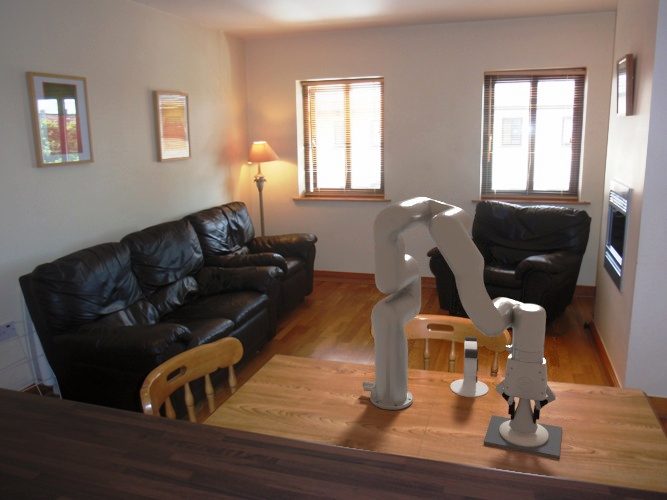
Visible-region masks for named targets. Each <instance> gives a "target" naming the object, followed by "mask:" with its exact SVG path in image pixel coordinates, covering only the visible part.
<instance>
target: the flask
mask: <svg viewBox="0 0 667 500" xmlns="http://www.w3.org/2000/svg"><path fill="white" fill-rule="evenodd" d="M518 399H519V400H518V403H517V406H516V407H515V412H514V418H513V420H511V421H510V423H509V426H510V427H511V429H512V430H513V431H516V432H520V433H524V434H526V433H536V431H537V428H538V426H537V423H538V422H536V424H534V423H533V412H534V410H533V408H532V402H531V400H529V399H523V398H518Z"/></svg>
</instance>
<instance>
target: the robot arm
mask: <svg viewBox="0 0 667 500" xmlns="http://www.w3.org/2000/svg"><path fill="white" fill-rule="evenodd" d="M472 224H473V222H472V219H471V216H470V214H469V213H468V212H467V211H466V210H464V209H463V208H461V207H458V206H455V205H453V204H448V203H445V202H441V201H439V200H435V199H432V198H429V197H424V196H415V197H411V198H408V199H404V200H400V201H398V202H394V203H391V204H389V205H388V206H386V207H384V208H382V209H381V210H380V211H379V212H378V214H377V215H376V217H375V219H374V222H373V228H372V229H373V234H372V235H373V243H374V250H373V251H374V252H373V253H374V256H373V257H374V281H375V282H374V283H375V286H376V288H377V290H379V292H381V293H382V294H384V295H387V296H386V297H384V298H382V299H380V300H379V301H378V302H376V304H375V305H374V306H373V307H372V311H371V315H370V319H371V326H372V330H373V337H374V339H373V340H374V379H375V380H374V381H373V382H370V381H367V380H363V381H362V388H363V391H364V392H370V394H369V395H370V396H369V399H370V402H371V404H372V405H373V406H375V407H377V408H380V409H383V410H389V411H390V410H391V411H393V410H394V411H395V410H396V411H397V410H402V409H405V408H408V407H409V406H411V405H412V403H413V402H414V396H413V393H412V392H410V391H409V389H408V387H409V385H408V382H409V381H408V380H409V379H408V377H409V371H408V369H409V366H408V365H409V363H408V362H409V360H408V359H409V351H408V347H409V344H408V343H409V342H408V337H407V333H406V331H405V325H407V324H409V323H410V322H411V321H413V320H414V319H415V318H417V316H418V315H419V313H420V311H421V307H422V272H421V268H420V265H419V263H418V261H417V260H416V258H414V257H413V256H412V255H410V254H408V253H406V244H405V240H404V237H403V235H404V234H406V233H408V232H411V231H414V230H415V231H416V230H418V229H421V228H424V229H428V234H429V235H430V238H431V239H432V241H433V242H434V243H435V246H436V247H437V249H438V251H439V252H440V254H441V255H442V257H443V258H444V260H445V262H446V263H447V265H448V266H449V267H448V268H450V270H451V271H452V273H453V275H454V279H455V284H456V289H457V292H458V296H459V300H460V303H461V305H462V307H463V309H464V311H465V313H466V315H467V316H468V318H469V319H470V321H471V322H472V324H473V325H474V327H475V328H476V329H477V331H479V332H480V333H481V335H482V334H483V335H484V336H487V337H492V338H493V337H494V338H495V337H498V336H500V335H502V334H503V333H504V332H505V331H506V330H507V329H510V328H512V340H511V345H505V351H506V352H508V353H510V354H509V355H508V357H507V360H506V365H505V372H504V379H502V381H500V382H499V383H498V384H497V385H496V386H495V391H496V392H497V393H498V394H499V395H501V396H502V398H503V399H504V401H506V402H507V405H508V409H507V410H508V412H507V414H508V415H510V418H511V420H513V418H514V412H515V410H516V400H515V398H518V399H519V398H523V399H529V400H530V401H534V406H533V423H534V424H536V423H537V420H538V421H539V420H540V417H541V416H540V415H541V409H542V408H543V407H545V406H546V405H548V404H549V403H551V402H554V401H555V400H556V399H557V396H556V394H555V393H554V391H553V390H552V389H551V388H550V386H549V385H548V367H547V359H545V357H544V352H545V351H544V350H545V337H546V324H547V323H546V319H547V312H546V309H545V308H544V307H543V306H541V305H538V304H536V303H524V302H521V301H518V300H514V299H511V298H508V297H502V296H499V297H496V298H494V299H491V297H490V295H489V294H488V292H487V289H486V286H485V283H484V282H485V281H484V268H485V260H484V259H485V258H484V256H483V255H482V253H481V251H480V250H479V249H478V247H477V245H476V244H475V243H474V240H473V239H472V237H471V236H470V234H469V233H470V231H471V230H472V228H473V227H472V226H473V225H472Z"/></svg>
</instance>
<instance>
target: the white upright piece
mask: <svg viewBox="0 0 667 500" xmlns="http://www.w3.org/2000/svg"><path fill="white" fill-rule="evenodd" d="M477 337H478V336H464V347H463V348H464V349H463V350H464V351H463V378H462V379H456V380H454V381H452V382H451V384H450V386H449V388H450V390H451V392H453V393H454V394H456V395H459V396H462V397H466V398H480V397H483V396H485V395H487V394H488V393H489V386H487V385H488V384H486V383H484V382H482V381H480V380H478V376H477V375H478V371H479V354H478V353H479V350H478V349H479V347H478V343H477V342H478V338H477Z"/></svg>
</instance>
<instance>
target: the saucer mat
mask: <svg viewBox="0 0 667 500" xmlns="http://www.w3.org/2000/svg"><path fill="white" fill-rule="evenodd" d="M510 421H511V417H506V416H499V415H494V414H491V417H490V420H489V423H488V426H487V430H486V432H485V436H484V439H483V445H486V446H490V447H491V446H492V447H495V448H496V447H498V448H502V449H506V450H512V451H517V452H523V453H527V454H533V455H538V456H543V457H548V458H551V459H552V458H553V459H556V460H560V456H561V443H562V433H563V432H562V431H563V427H562V426H557V425H552V424H551V425H550V424H545V423H539V422H536V423H537V426H538V428H537V431H536V433H526V434H524V433H520V432H516V431H513V430H512V429H511V427H510V426H509V423H510Z"/></svg>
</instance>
